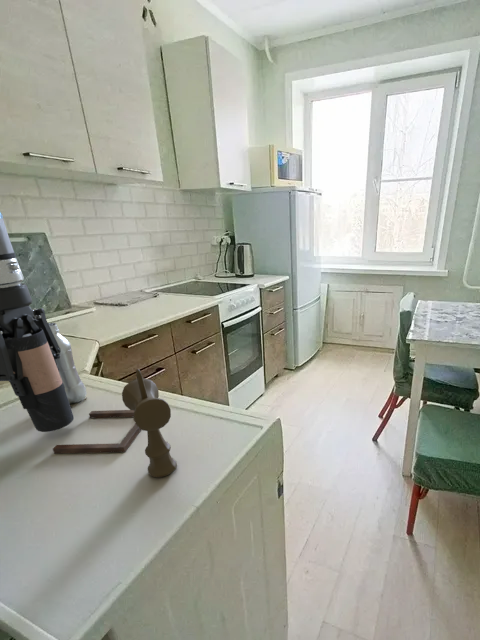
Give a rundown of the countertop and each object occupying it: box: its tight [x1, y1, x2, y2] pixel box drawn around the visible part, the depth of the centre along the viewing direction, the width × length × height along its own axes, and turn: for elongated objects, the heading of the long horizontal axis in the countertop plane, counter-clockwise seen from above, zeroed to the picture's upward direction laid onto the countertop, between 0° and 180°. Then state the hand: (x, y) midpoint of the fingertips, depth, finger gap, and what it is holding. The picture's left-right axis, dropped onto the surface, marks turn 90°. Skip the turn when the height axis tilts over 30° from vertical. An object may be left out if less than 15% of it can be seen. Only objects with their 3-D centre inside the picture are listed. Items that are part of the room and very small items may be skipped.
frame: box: [52, 409, 142, 455], centre depth 76 cm, size 14×15×1 cm
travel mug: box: [4, 328, 75, 433], centre depth 71 cm, size 8×8×20 cm
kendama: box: [121, 368, 178, 478], centre depth 59 cm, size 6×10×20 cm, turn 33°
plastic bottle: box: [48, 322, 88, 405], centre depth 86 cm, size 6×7×20 cm
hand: (45, 397), depth 73 cm, fingers closed on travel mug, 8 cm apart
